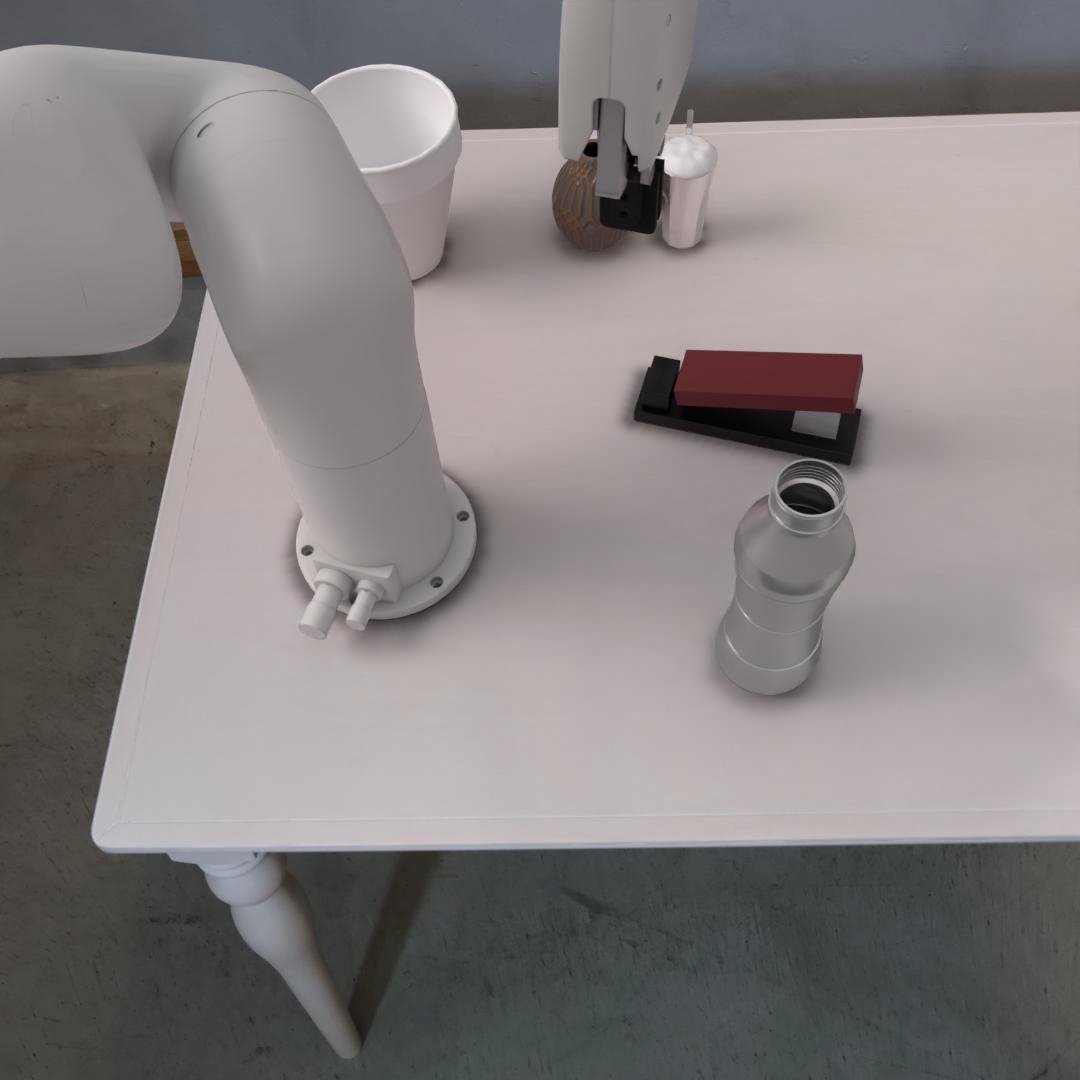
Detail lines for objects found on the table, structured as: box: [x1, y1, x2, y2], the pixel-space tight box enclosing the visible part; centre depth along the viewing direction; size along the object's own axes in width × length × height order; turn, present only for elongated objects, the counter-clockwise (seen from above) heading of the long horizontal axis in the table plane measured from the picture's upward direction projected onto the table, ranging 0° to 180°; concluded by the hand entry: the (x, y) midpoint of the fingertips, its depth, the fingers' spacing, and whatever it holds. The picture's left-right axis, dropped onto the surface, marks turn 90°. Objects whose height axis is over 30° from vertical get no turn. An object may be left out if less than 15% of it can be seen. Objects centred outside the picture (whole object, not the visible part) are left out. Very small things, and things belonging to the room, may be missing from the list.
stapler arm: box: [674, 349, 864, 413], centre depth 79 cm, size 12×4×2 cm, turn 73°
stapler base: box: [633, 354, 863, 466], centre depth 82 cm, size 16×4×3 cm, turn 73°
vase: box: [551, 138, 629, 252], centre depth 91 cm, size 7×7×9 cm
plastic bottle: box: [715, 458, 857, 696], centre depth 65 cm, size 6×7×20 cm
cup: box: [310, 63, 463, 282], centre depth 89 cm, size 12×12×14 cm
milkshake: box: [657, 109, 719, 250], centre depth 90 cm, size 4×5×10 cm
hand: (630, 220), depth 64 cm, fingers closed
